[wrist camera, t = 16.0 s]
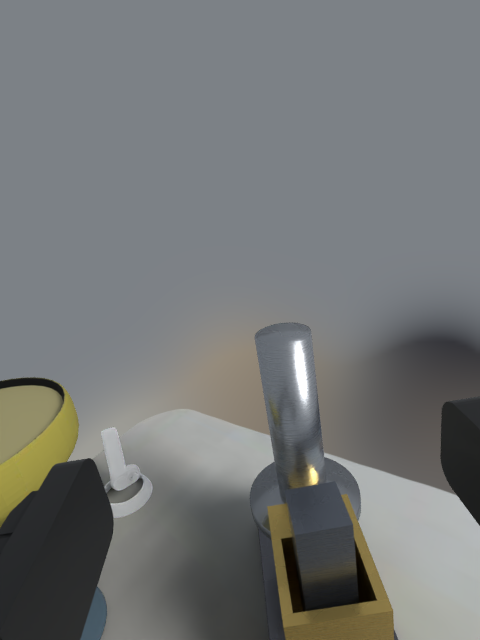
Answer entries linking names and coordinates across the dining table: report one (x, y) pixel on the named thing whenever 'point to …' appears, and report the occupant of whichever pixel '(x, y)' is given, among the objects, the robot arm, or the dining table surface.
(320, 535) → the grey square peg
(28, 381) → the cocktail glass
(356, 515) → the flanged pole stand
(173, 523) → the dining table surface
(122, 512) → the white vr controller
